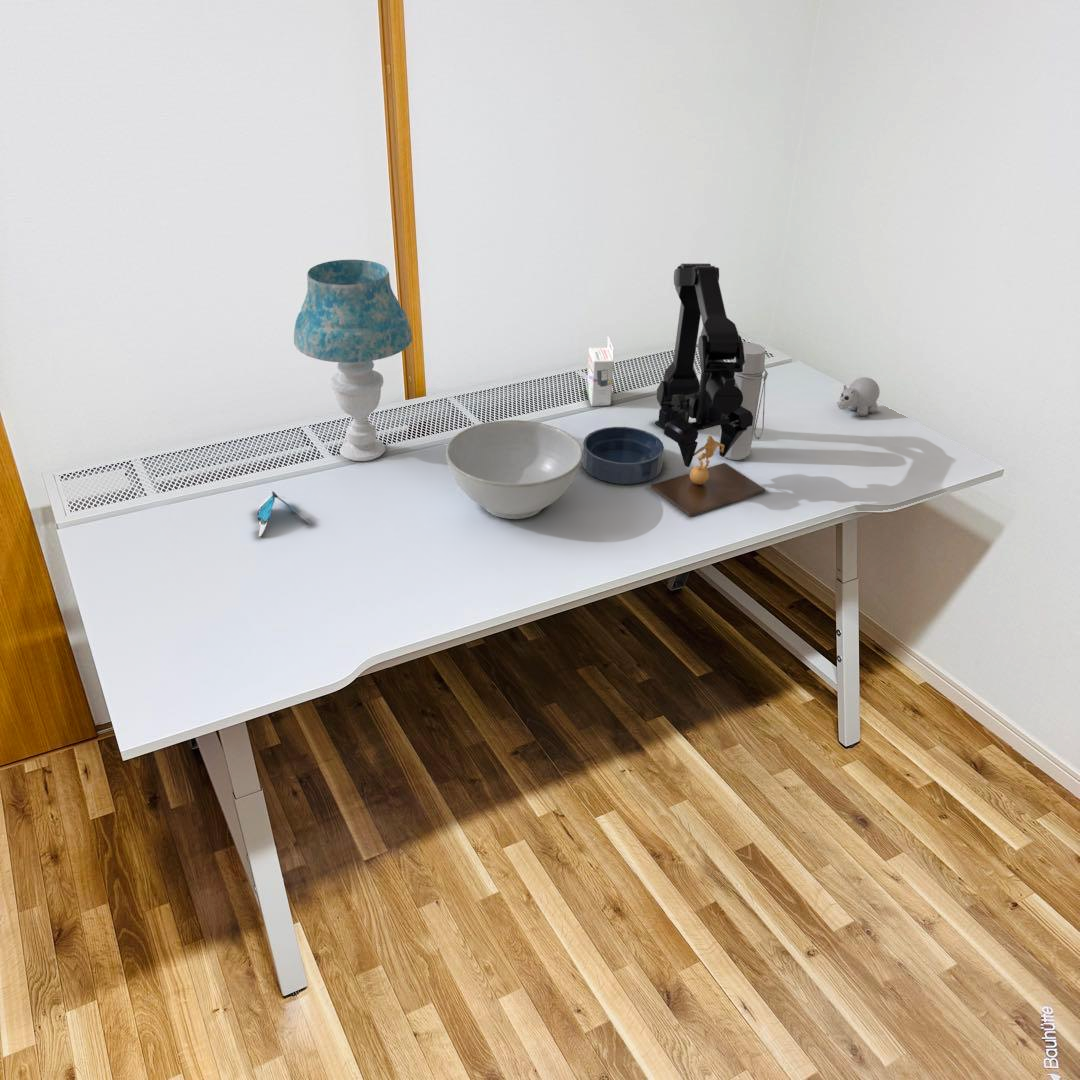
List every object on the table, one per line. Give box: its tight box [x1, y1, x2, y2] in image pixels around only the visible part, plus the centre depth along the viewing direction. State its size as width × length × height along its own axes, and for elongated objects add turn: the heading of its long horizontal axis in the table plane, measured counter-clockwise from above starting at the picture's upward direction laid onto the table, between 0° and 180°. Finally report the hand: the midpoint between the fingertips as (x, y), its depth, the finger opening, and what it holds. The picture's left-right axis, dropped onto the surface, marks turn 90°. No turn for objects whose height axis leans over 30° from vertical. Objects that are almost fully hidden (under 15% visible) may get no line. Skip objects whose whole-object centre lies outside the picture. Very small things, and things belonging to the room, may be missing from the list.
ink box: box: [586, 336, 615, 407], centre depth 238 cm, size 9×5×15 cm, turn 6°
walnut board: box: [650, 462, 766, 518], centre depth 205 cm, size 20×13×1 cm, turn 121°
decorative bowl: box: [445, 419, 583, 520], centre depth 196 cm, size 27×27×12 cm
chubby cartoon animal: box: [836, 376, 881, 417], centre depth 236 cm, size 7×12×8 cm, turn 120°
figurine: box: [689, 435, 724, 485], centre depth 202 cm, size 8×6×12 cm
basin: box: [581, 426, 665, 485], centre depth 212 cm, size 17×17×5 cm
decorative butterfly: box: [257, 490, 309, 537], centre depth 191 cm, size 10×6×10 cm
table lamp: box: [293, 259, 413, 462], centre depth 205 cm, size 24×24×40 cm
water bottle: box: [717, 341, 769, 461], centre depth 212 cm, size 9×8×25 cm
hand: (704, 461), depth 202 cm, fingers open, 9 cm apart
